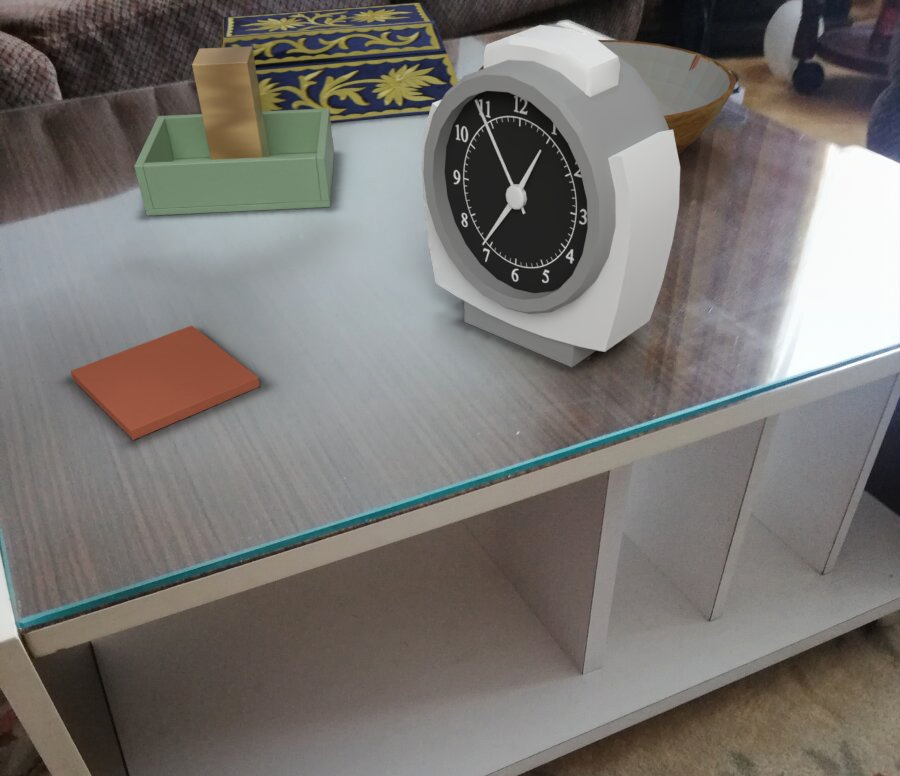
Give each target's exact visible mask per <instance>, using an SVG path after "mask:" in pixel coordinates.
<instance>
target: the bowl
mask: <svg viewBox="0 0 900 776" xmlns="http://www.w3.org/2000/svg"><path fill="white" fill-rule="evenodd" d="M597 40H598V41H599V42H601V43H602V44H603V45H604V46H605V47H607V48H608V49H609V50H611V51H613V52H615V53H616V54H618V55H619V56H620V57H621V58H622V59H624V60H625V61H626V62H627V63H629V64H630V65H631V66H632V67H633V68H635V69H636V70H637V71H638V72H639V74H640V75H641V77H642V78H643V79H644V81H645V82H646V84H647V85H648V86H649V88H650V89H651V90H652V92H653V93H654V95H655V96H656V98H657V101H658V103H659V105H660V108H661V110H662V113H663V115H664V118H665V120H666V122H667V125H668V127H669V130H672V129H673V132H674V138H675V143H676V148H677V153H678V155H680V154H681V153H682V152H683V151H684V150H686V149H687V148H688V147H690V145H692V144H693V143H694V142H695V141H696V140H697V139H698V138H699V137H700V136H701V135H702V134H703V133H704V132H705V131H706V130H707V128H708V127H709V126H710V125H711V124H712V123H713V122H714V121H715V119H716V118H717V116H718V115H719V113H720V112H721V111H722V110H723V108H724V106H725V105H726V103H727V102H728V101H729V99H730V97H731V95H732V94H733V92H734V90H735V87H736V84H737V81H736V78H735V75H734V73H732V71H731V70H730V69H729V68H728V67H727V66H725V65H724V64H722V63H721V62H719V61H717V60H716V59H713V58H711V57H709V56H706V55H704V54H702V53H698V52H695V51H692V50H688V49H684V48H681V47H676V46H673V45H672V46H671V45H666V44H661V43H654V42H653V43H652V42H646V41H637V40H636V41H635V40H620V39H597ZM482 69H484V64H483V65H482V66H481V67H480V68H479V69H478V70H477V71H479V70H482Z"/></svg>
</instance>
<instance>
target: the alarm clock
mask: <svg viewBox="0 0 900 776" xmlns="http://www.w3.org/2000/svg"><path fill="white" fill-rule="evenodd" d="M598 40H599V39H597V38H596V37H595V36H593V35H591V34H588V33H584V32H581V31H577V30H574V29H570V28H568V27H567V28H566V27H561V26H553V25H552V26H551V25H543V24H539V25H536V26H534V27H530V28H528V29H526V30H522V31H520V32H517V33H514V34H511V35H508V36H506V37H503V38H500V39H498V40H495V41H492V42H490V43H487V44H486V45H485V47H484V50H483V65H484V69H482V70H479V69H478V70H479V71H478V70H476V71H473V72H471V73H469V74H466V75H463V77H462V78H460V79H459V80H458V82H457V83H456V84H455V85H454V86H453V87H452V88H450V89H449V90H448V91H447V92H446V93H445V95H444V97H443V99H442V100H439V101H436V102H434V103H432V106H431V109H430V113H429V114H428V117H427V120H426V123H425V127H424V130H423V139H422V157H421V175H422V176H421V178H422V193H423V206H424V213H425V214H424V215H425V224H426V232H427V243H428V247H429V253H430V260H431V265H432V271H433V277H434V283H435V284H436V285H438V286H439V287H441V288H443V289H444V290H445V291H447V292H449V293H450V294H452V295H453V296H454V297H457V298H458V299H460V300H462V301H463V304H464V305H463V307H464V308H463V311H464V313H463V315H464V317H463V318H464V321H463V322H464V323H466V324H468V325H471V326H473V327H475V328H477V329H480V330H483V331H485V332H486V333H490V334H492V335H494V336H496V337H499V338H501V339H504V340H506V341H509V342H511V343H514V344H516V345H518V346H519V347H522V348H525V349H527V350H530V351H532V352H534V353H536V354H539V355H542V356H544V357H546V358H549V359H551V360H553V361H556V362H558V363H560V364H563V365H565V366H567V367H570V368H573V367H575V366H577V365H578V364H579V363H580V362H583V361H584V360H585V359H587V358H588V357H589V356H591V355H592V354H594V353H595V352H597V351H598V352H604V353H606V352H607V351H608V350H610V349H611V348H613V347H614V346H615V345H617V344H619V343H620V342H621V341H623V340H625V338H628V336H630V335H632V334H633V333H634V332H636V331H637V330H639V329H640V328H642V327H643V326H644V325H646V324H647V323H648V322H650V321H651V319H652V316H653V312H654V309H655V306H656V304H657V301H658V297H659V295H660V291H661V289H662V286H663V282H664V278H665V274H666V270H667V266H668V262H669V258H670V254H671V250H672V245H673V243H674V236H675V230H676V227H677V226H676V225H677V219H678V215H679V209H680V190H681V189H680V188H681V186H680V184H681V164H680V159H679V154H678V153H677V148H676V143H675V138H674V132H673V129H672V130H669V127H668V125H667V122H666V120H665V118H664V115H663V113H662V110H661V108H660V105H659V103H658V101H657V98H656V96H655V95H654V93H653V92H652V90H651V89H650V88H649V86H648V85H647V84H646V82H645V81H644V79H643V78H642V77H641V75H640V74H639V72H638V71H637V70H636V69H635V68H633V67H632V66H631V65H630V64H629V63H627V62H626V61H625V60H624V59H622V58H621V57H620V56H619V55H618V54H616V53H615V52H613V51H611V50H609V49H608V48H607V47H605V46H604V45H603V44H602V43H601V42H599V41H598Z"/></svg>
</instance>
